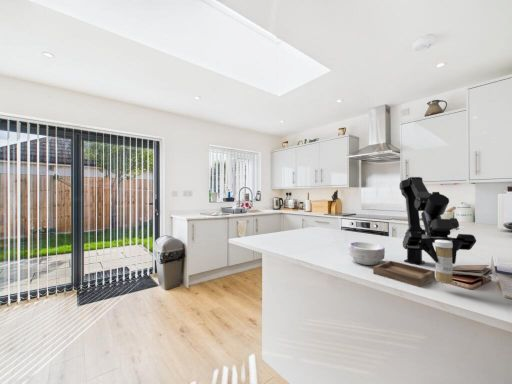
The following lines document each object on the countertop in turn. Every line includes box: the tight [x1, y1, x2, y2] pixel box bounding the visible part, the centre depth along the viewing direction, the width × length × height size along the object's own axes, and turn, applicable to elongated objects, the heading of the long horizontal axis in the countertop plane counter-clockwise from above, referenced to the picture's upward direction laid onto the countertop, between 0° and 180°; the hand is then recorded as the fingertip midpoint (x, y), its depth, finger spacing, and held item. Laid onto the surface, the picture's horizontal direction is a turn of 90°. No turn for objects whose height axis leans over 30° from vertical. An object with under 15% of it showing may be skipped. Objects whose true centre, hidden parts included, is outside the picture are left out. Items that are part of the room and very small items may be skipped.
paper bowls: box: [347, 241, 386, 266], centre depth 108 cm, size 15×15×8 cm
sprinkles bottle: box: [434, 240, 454, 285], centre depth 77 cm, size 5×5×14 cm
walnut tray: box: [372, 260, 436, 288], centre depth 91 cm, size 14×16×3 cm
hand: (445, 262), depth 76 cm, fingers closed on sprinkles bottle, 4 cm apart
